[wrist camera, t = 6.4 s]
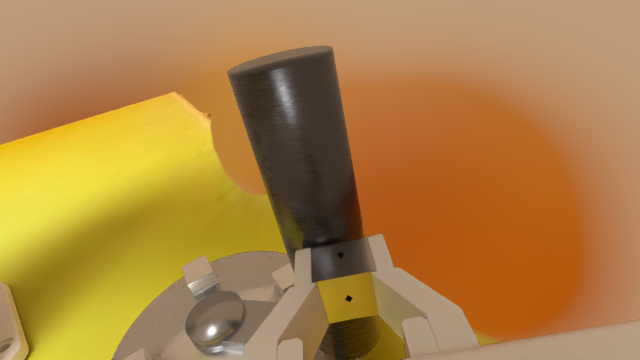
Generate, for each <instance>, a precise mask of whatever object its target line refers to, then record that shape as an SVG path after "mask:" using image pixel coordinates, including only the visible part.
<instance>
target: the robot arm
mask: <svg viewBox="0 0 640 360" xmlns="http://www.w3.org/2000/svg"><path fill="white" fill-rule="evenodd" d="M375 315H379V317H380V318H381V319H382V320H383V321H384V322H385V323H386V324H387V325H388V326H389V327H390V328H391V329H392V330H393V331H394V332H395V333H396V334H397V335H398V336H399V337H400V338H401V339H402V340H403V341H404V347H405V354H406V359H402V360H640V319H638V320H633V321H627V322H621V323H615V324H609V325H603V326H597V327H591V328H585V329H579V330H573V331H567V332H562V333H555V334H550V335H544V336H538V337H532V338H526V339H520V340H514V341H508V342H502V343H496V344H490V345H484V346H481V345H480V343H479V341H478V340H477V338H476V336H475V334H474V332H473V330H472V328H471V326H470V324H469V322H468V320H467V318H466V317H465V314H464V313H463V311H462V309H461V308H460V307H459V306H457V305H456V304H454V303H453V302H451V301H450V300H448V299H447V298H445V297H444V296H442V295H440V294H439V293H437V292H436V291H434V290H433V289H431V288H430V287H428V286H427V285H425V284H424V283H422V282H421V281H419V280H418V279H416V278H415V277H413V276H412V275H410V274H408V273H407V272H406V271H404V270H403V269H401V268H399V267H397V268H394V265H393V262H392V260H391V256H390V254H389V251H388V248H387V245H386V242H385V239H384V237H383V235H382V234H377V235H373V236H368V237H365V238H360V239H355V240H350V241H345V242H339V243H333V244H327V245H322V246H316V247H311V248H305V249H299V250H296V252H295V273H294V287H290V288H289V289H288V290H287V292H286V293H285V294H284V296H283V297H282V298H281V299H280V301H279V302H278V303H277V305H276V306H275V307H274V309H273V310H272V311H271V312H270V314H269V315H268V316H267V318H266V319H265V320H264V322H263V323H262V324H261V326H260V327H259V328H258V329H257V331H256V332H255V333H254V335H253V336H252V337H251V339H250V340H249V341H248V342H247V344H246V345H245V348H244V354H243V360H313V358H314V356H315V354H316V352H317V350H318V348H319V346H320V344H321V341H322V339H323V337H324V335H325V333H326V331H327V329H328V327H329V324H330V323H335V322H340V321H345V320H350V319H355V318H362V317H368V316H375ZM28 352H29V347H28V344H27V341H26V338H25V334H24V331H23V328H22V325H21V322H20V318H19V315H18V312H17V309H16V306H15V302H14V299H13V296H12V293H11V290H10V288H9V286H7V285H6V284H5V283H3V282H0V360H24V359H25V358H26V356H27V355H28Z"/></svg>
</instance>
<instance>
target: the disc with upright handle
mask: <svg viewBox="0 0 640 360" xmlns="http://www.w3.org/2000/svg"><path fill="white" fill-rule="evenodd" d="M227 74H228V77H229V80H230V83H231V86H232V89H233V92H234V95H235V98H236V101H237V103H238V107H239V110H240V113H241V116H242V119H243V122H244V125H245V128H246V131H247V134H248V137H249V140H250V143H251V146H252V149H253V152H254V155H255V158H256V161H257V164H258V167H259V170H260V173H261V176H262V179H263V182H264V185H265V188H266V191H267V194H268V197H269V200H270V203H271V206H272V209H273V212H274V215H275V218H276V221H277V224H278V227H279V230H280V233H281V236H282V239H283V242H284V245H285V248H286V251H287V254H288V255H287V254H284V253H278V252H271V251H252V252H245V253H239V254H235V255H230V256H227V257H224V258H221V259H218V260H216V261H213V262H210V263H209V261H208V259H207V257H206V255H204V256H202V257H200V258H198V259H196V260H194V261H192V262H190V263H188V264H186V265H184V266H182V270H183V273H184V277H183V278H181V279H180V280H178V281H177V282H175V283H174V284H172V285H171V286H170V287H169V288H167V289H166V290H165V291H164V292H162V293H161V294H160V295H159V296H158V297H157V298H156V299H154V300H153V301H152V303H151V304H150V305H149V306H148V307H147V308H146V309H145V310H144V311H143V312H142V313H141V314H140V315H139V317H138V318H137V319H136V320H135V321H134V323H133V324H132V326H131V327H130V328H129V330H128V331H127V332H126V334H125V336H124V337H123V339H122V341H121V342H120V344H119V346H118V348H117V350H116V352H115V354H114V356H113V358H112V360H243V354H244V348H245V345H246V344H247V342H248V341H249V340H250V339H251V337H252V336H253V335H254V333H255V332H256V331H257V329H258V328H259V327H260V326H261V324H262V323H263V322H264V320H265V319H266V318H267V316H268V315H269V314H270V312H271V311H272V310H273V309H274V307H275V306H276V305H277V303H278V302H279V301H280V299H281V298H282V297H283V296H284V294H285V293H286V292H287V290H288V289H289V288H290V287H294V273H295V252H296V250H299V249H305V248H311V247H316V246H322V245H327V244H333V243H339V242H345V241H350V240H355V239H360V238H365V235H364V229H363V223H362V217H361V211H360V205H359V200H358V194H357V188H356V182H355V176H354V170H353V164H352V159H351V153H350V147H349V141H348V135H347V129H346V124H345V118H344V113H343V107H342V100H341V95H340V88H339V83H338V77H337V71H336V65H335V60H334V53H333V48H332V47H330V46H312V47H304V48H298V49H293V50H288V51H283V52H278V53H275V54H270V55H267V56H263V57H260V58H257V59H253V60H250V61H248V62H245V63H242V64H240V65H238V66H236V67H233V68H232V69H230V70H229V71H228V72H227ZM379 335H380V323H379V317H378V315H375V316H368V317H362V318H355V319H350V320H345V321H340V322H335V323H330V324H329V327H328V329H327V331H326V333H325V335H324V337H323V339H322V341H321V344H320V346H319V348H318V350H317V352H316V354H315V356H314V358H313V360H359V358H360V357H362V356H364V355H366V354H367V353H369V352H370V351H371V350H372V349H373V347H374V346H375V345H376V343H377V341H378V339H379Z"/></svg>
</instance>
